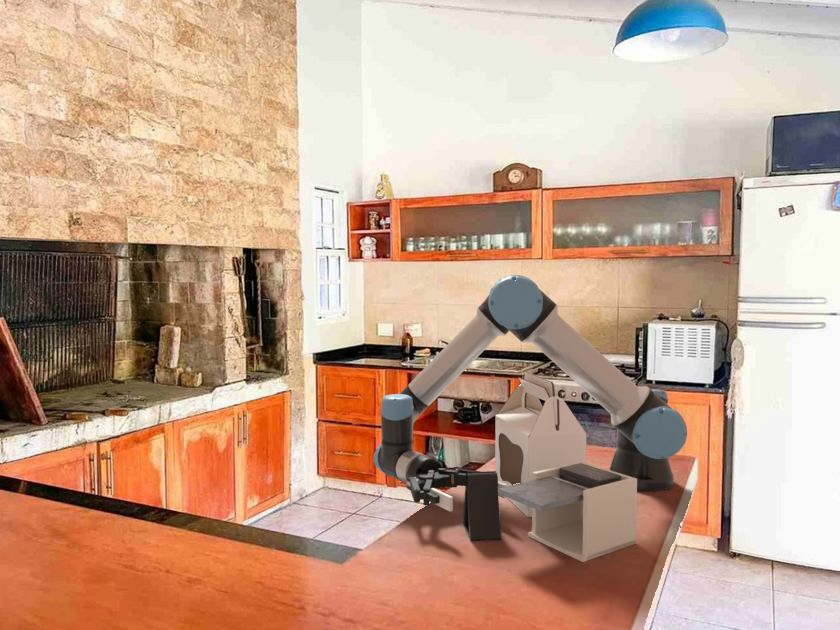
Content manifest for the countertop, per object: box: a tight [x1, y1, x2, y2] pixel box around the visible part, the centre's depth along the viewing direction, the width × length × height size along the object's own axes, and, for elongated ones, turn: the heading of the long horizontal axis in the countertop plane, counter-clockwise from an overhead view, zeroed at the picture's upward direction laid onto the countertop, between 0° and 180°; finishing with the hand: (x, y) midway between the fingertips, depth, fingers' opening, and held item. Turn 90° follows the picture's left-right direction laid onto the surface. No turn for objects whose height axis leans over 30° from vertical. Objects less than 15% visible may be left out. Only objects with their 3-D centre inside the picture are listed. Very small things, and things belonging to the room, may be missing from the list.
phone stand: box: [462, 470, 502, 542], centre depth 130 cm, size 9×6×12 cm, turn 6°
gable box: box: [494, 372, 588, 519], centre depth 149 cm, size 22×13×28 cm, turn 12°
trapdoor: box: [499, 463, 621, 511], centre depth 122 cm, size 21×11×4 cm, turn 124°
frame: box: [527, 462, 638, 563], centre depth 126 cm, size 14×14×12 cm
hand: (479, 497), depth 130 cm, fingers open, 13 cm apart
